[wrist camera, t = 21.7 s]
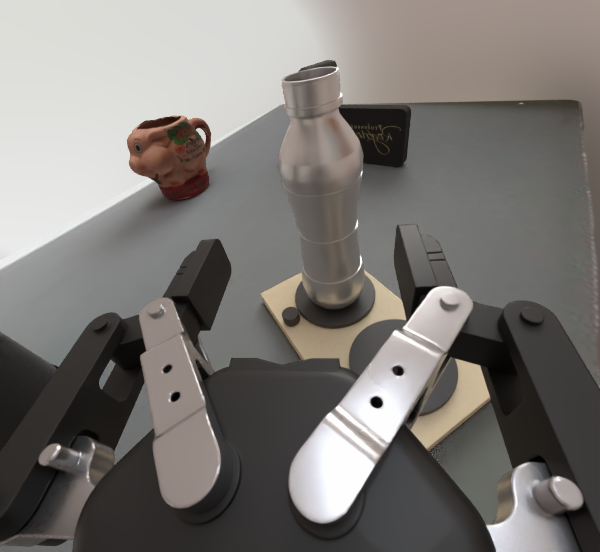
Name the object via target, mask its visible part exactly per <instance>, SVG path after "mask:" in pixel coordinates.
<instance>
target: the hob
mask: <svg viewBox="0 0 600 552" xmlns="http://www.w3.org/2000/svg"><path fill="white" fill-rule="evenodd" d="M364 271H365V270H364ZM260 295H261V297H262V300H263V302H264V304H265V305H266V307H267V308H268V310H269V311H270V313H271V314H272V316H273V317H274V319H275V320H276V322H277V323H278V325H279V326H280V328H281V330H282V331H283V333H284V334H285V336H286V337H287V339H288V340H289V342H290V343H291V345H292V346H293V348H294V349H295V351H296V352H297V354H298V355H299V357H300V358H301V360H306V359H310V358H339V360H340V366H341V367H345V368H348V369H350V370H353V371H354V372H356V373H358V374H360V375H361V374H362V373H363V371H364V370H365V369H366V367H367V366H368V365H369V363H370V362H371V361H372V359H373V358H374V357H375V355H376V354H377V353H378V351H379V350H380V349H381V347H382V346H383V345H384V344H385V342H386V341H387V340H388V338H389V337H390V336H391V334H392V333H393V332H394V331H395V330H396V329H397V328H400V329H402V328H403V327H404V326H405V324H406V323H407V321H406V316H405V312H404V307H403V302H402V300H400V299H399V298H398V297H397V296H396V295H394V294H393V293H392V292H391V291H389V290H388V289H387V288H386V287H385V286H383V285H382V284H381V283H380V282H378V281H377V280H376V279H375V278H374V277H372V276H371V275H370V274H369V273H368V272H366V271H365V282H364V286H363V290H362V293H361V295H360V296H359V297H358V299H356V300H355V301H354V302H353V303H352V304H350V305H349V306H347V307H344V308H341V309H326V308H323V307H321V306H319V305H317V304H315V303H314V302H312V301H311V299H310V298H309V297H308V294H307V292H306V290H305V288H304V286H303V281H302V272H301V273H300V274H298V275H296V276H294V277H292V278H290V279H288V280H286V281H284V282H282V283H280V284H278V285H276V286H274V287H273V288H271V289H269V290H267V291H265V292H263V293H261V294H260ZM490 400H491V399H490V395H489V392H488V389H487V386H486V383H485V380H484V377H483V373H482V370H481V367H480V365H476V364H473V363H469V362H466V361H462V360H458V359H455V358H451V359H450V361H449V363H448V365H447V366H446V368H445V370H444V372H443V373H442V375H441V377H440V378H439V380H438V382H437V384H436V385H435V387H434V389H433V391H432V392H431V394H430V396H429V398H428V400H427V402H426V404H425V406H424V408H423V410H422V412H421V413H420V415H419V417H418V419H417V420H416V422H415V424H414V426H413V427H412V429H411V431H412V432H413V434H414V435H415V436H416V437H417V438H418V440H419V441H420V442H421V443H422V444H423V445H424V447H425V448H426V449H427V450H428V451H429V450H431V449H432V448H433V447H434V446H435V445H437V444H438V443H439V442H440V441H441V440H443V439H444V438H445V437H446V436H448V435H449V434H450V433H451V432H452V431H454V430H455V429H456V428H457V427H458V426H460V425H461V424H462V423H463V422H465V421H466V420H467V419H468V418H469V417H471V416H472V415H473V414H474V413H475V412H477V411H478V410H479V409H480V408H482V407H483V406H484V405H485V404H486V403H488V402H489V401H490Z"/></svg>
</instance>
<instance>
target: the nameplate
mask: <svg viewBox="0 0 600 552" xmlns="http://www.w3.org/2000/svg"><path fill="white" fill-rule="evenodd" d="M338 108H339V113H340V114H341V116H342V117H343V118H344V119H345V121H346V122H347V123H348V124H349V126H350V127H351V128H352V130H353V131H354V133H355V134H356V136H357V137H358V139H359V141H360V145H361V148H362V151H363V155H364V156H363V163H371V164H379V165H387V166H394V167H399V166H401V165H402V164H403V163H404V162H405V161H406V158H407V149H408V138H409V128H410V118H411V109H410V107H408V106H406V105H340V106H339V107H338Z"/></svg>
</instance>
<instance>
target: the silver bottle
mask: <svg viewBox="0 0 600 552" xmlns="http://www.w3.org/2000/svg"><path fill="white" fill-rule="evenodd" d="M282 88H283V94H284V99H285V104H284V108H285V113H286V114H287V115H289V116H291V123H290V125H289V128H288V130H287V132H286V135H285V137H284V140H283V143H282V146H281V150H280V153H279V161H278V170H279V174H280V177H281V181H282V183H283V186H284V189H285V191H286V194H287V197H288V200H289V202H290V205H291V208H292V210H293V213H294V217H295V221H296V225H297V228H298V232H299V236H300V242H301V251H302V261H303V264H302V281H303V286H304V288H305V290H306V292H307V294H308V297H309V298H310V299H311V301H312V302H314V303H315V304H317V305H319V306H321V307H323V308H326V309H341V308H344V307H347V306H349V305H350V304H352V303H353V302H354V301H355V300H356V299H358V297H359V296H360V295H361V293H362V290H363V286H364V282H365V271H364V266H363V261H362V258H361V256H360V249H359V241H358V233H357V229H358V222H357V219H358V201H359V193H360V185H361V177H362V169H363V156H364V155H363V151H362V148H361V145H360V141H359V139H358V137H357V136H356V134H355V133H354V131H353V130H352V128H351V127H350V126H349V124H348V123H347V122H346V121H345V119H344V118H343V117H342V116H341V114H340V113H339V108H338V107H339V106H340V105H341V104H342V103H343V100H342V93H341V92H340V75H339V69H338V68H337V67H320V68H313V69H308V70H304V71H300V72H297V73H294V74H291V75H288V76H286V77H285V78H283V79H282Z"/></svg>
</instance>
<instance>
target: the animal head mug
mask: <svg viewBox="0 0 600 552" xmlns="http://www.w3.org/2000/svg"><path fill="white" fill-rule="evenodd" d="M197 128H201V129H202V130H203V131H204V132H205V135H206V143H205V144H204V141H203V140H202V138H201V136H200V135H199V133H198V132H197V131H196V129H197ZM210 142H211V132H210V129H209V127H208V125H207V124H206V122H205V121H203V120H202V119H199V118H192V119H190V120H188V119H187V118H186V117H185V116H170V117H164V118H159V119H156V120H150V121H144V122H143V123H141V124H140V125H139V126H138V127H136V128H135V129H134V130H133V131H132V133H131V134H130V135H129V137H128V139H127V144H128V148H129V151H130V160H129V165H130V167H131V169H132V170H133V171H134V172H135V173H137V174H139V175H142V176H146V177H149V178H150V179H152V180H154V181H155V182H157V183H158V185H159V187H160V189H161V191H162V193H163V195H164V196H165V197H166V198H168V199H186V198H190V197H192V196H194V195H196V194H198V193H200V192H202V191H203V190H205V189H206V188H207V187H208V185H209V176H208V172H207V169H206V157H207V155H208V153H209V149H210Z"/></svg>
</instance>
